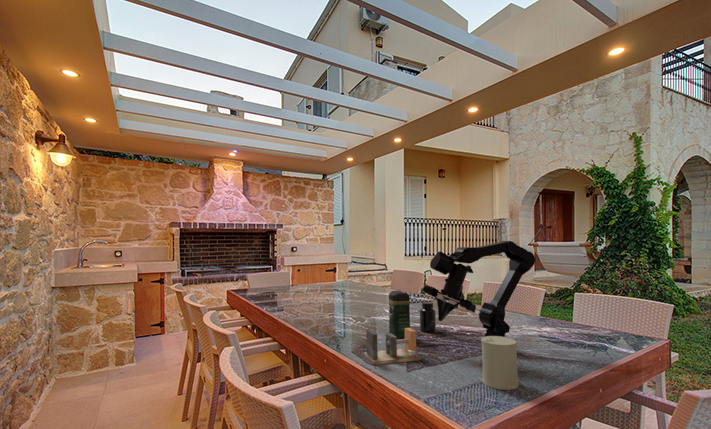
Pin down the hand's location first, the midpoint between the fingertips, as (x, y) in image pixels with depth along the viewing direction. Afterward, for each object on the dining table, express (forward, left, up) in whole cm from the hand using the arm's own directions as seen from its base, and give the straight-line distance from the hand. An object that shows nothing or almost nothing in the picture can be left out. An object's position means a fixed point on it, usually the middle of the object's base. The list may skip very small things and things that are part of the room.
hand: (439, 321), depth 124 cm
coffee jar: (+21, -13, -11) cm, 27 cm away
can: (-22, +18, -11) cm, 31 cm away
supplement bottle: (+14, -28, -11) cm, 33 cm away
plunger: (+10, +11, -10) cm, 18 cm away
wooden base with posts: (+13, +13, -11) cm, 21 cm away
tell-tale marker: (+7, +12, -9) cm, 17 cm away
